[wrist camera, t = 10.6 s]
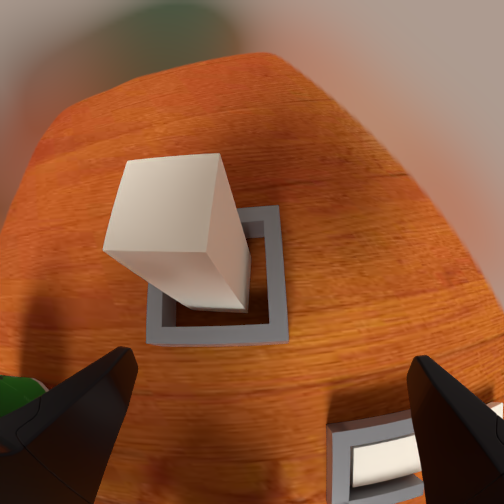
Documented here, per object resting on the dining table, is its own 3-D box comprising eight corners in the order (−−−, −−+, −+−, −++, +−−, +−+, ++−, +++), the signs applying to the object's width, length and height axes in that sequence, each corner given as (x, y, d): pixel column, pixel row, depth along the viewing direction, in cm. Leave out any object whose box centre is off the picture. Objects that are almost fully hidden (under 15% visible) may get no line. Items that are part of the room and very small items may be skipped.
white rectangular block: (247, 313, 23) (205, 252, 11) (191, 309, 23) (102, 250, 11) (251, 257, 24) (219, 153, 12) (197, 256, 25) (127, 160, 13)
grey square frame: (288, 343, 22) (288, 340, 19) (162, 346, 22) (146, 343, 20) (279, 222, 25) (278, 205, 22) (166, 232, 26) (154, 217, 23)
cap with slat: (488, 452, 15) (506, 457, 12) (326, 500, 16) (331, 516, 14) (491, 383, 18) (511, 382, 15) (326, 424, 19) (332, 432, 16)
